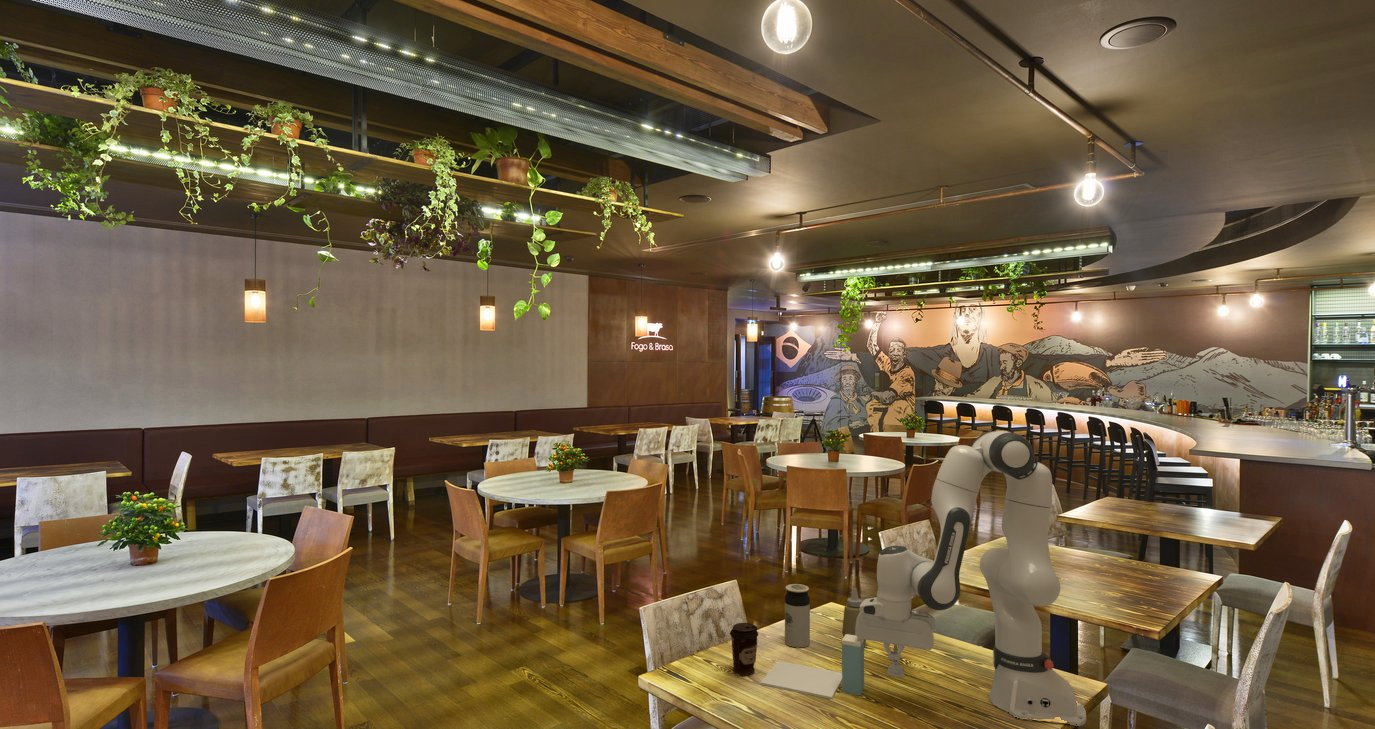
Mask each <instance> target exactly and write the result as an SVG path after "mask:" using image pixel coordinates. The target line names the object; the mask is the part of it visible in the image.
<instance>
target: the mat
mask: <svg viewBox="0 0 1375 729" xmlns="http://www.w3.org/2000/svg"><path fill="white" fill-rule="evenodd" d="M760 685H761V686H765V687H771V688H776V689H780V690H784V691H785V690H786V691H790V692H795V693H800V694H805V695H809V696H813V697H819V698H824V699H828V700H833V698H834V696H835V695H836V693H837V691H838V688H839V687H840V685H842V672H839V671H833V670H829V669H823V668H818V667H813V666H807V665H803V664H798V663H797V664H796V663H792V662H786V661H782V660H778V661H777V662H776V663H775V664H774V666H772V668H770V670H769V671H768V672H767V674H766V675H765V676H764V678H763V679H762V680H761V681H760Z"/></svg>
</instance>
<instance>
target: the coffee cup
mask: <svg viewBox="0 0 1375 729" xmlns="http://www.w3.org/2000/svg"><path fill="white" fill-rule="evenodd" d="M758 629H759V628H758V627H757V625H756V624H752V623H751V622H750V623H749V622H738V623H736V624H734V625H733V626H732V628H731V629H730V632H729V635H730V640H731V649H732V651H731V652H732V653H731V654H732V661H733V662H732V663H733V668H732V670H733V672H734V674H736V675H738V676H750V675H752V674H754V673H755V670H756V669H755V663H756V660H757V650H758V637H759V632H758Z"/></svg>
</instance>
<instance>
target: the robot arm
mask: <svg viewBox="0 0 1375 729" xmlns="http://www.w3.org/2000/svg"><path fill="white" fill-rule="evenodd" d="M991 472H996V473H1003V475H1004V477H1005V481H1006V491H1005V498H1004V505H1003V511H1002V518H1001V531H1002V533H1003V535H1004V536H1005V541H1006V544H1007V548H1003V547H992V548H989V549H987V550H986V551H985V552H984V553H983V554H982V555H981V558H980V560H979V569H980V572H981V574H982V575H983V578H984V580H985V582H986V585H987V587H988V592H989V596H990V600H991V604H992V608H993V614H994V630H995V631H994V632H995V635H994V639H995V641H994V642H995V644H994V645H993V649H992V650H993V651H992V661H993V662H992V663H993V668H994V671H993V679H992V685H991V689H990V692H989V695H988V699H989V701H990V702H991V703H992V704H993V705H994V706H996V707H997V708H999V709H1001V710H1002V711H1005V712H1007V713H1008V712H1009V713H1008V714H1009V715H1011V716H1012V715H1013V716H1012V717H1014V718H1015V717H1017V718H1016V719H1018V718H1029V719H1030V718H1031V719H1034V718H1035V719H1036V718H1037V719H1054V718H1055V717H1060V718H1061V720H1064V721H1067V722H1069V723H1070V725H1069V726H1074V727H1075V726H1076V727H1077V726H1079V727H1081V726H1083V725H1085V724H1086V723H1087V712H1086V708H1085V707H1084V706H1083V704H1082V703H1081V705H1079V706H1077V703H1076V700H1077V697H1076V695H1075V694H1076V693H1075V692H1074V689H1073V687H1072V685H1071V684H1070V682H1069V681H1068V680H1066V679H1065V678H1063V677H1062V676H1061V675H1060V674H1059V673H1058V672H1056V670H1054V667H1055V666H1054V661H1052V660H1051V656H1050V655H1049V654H1050V653H1048V652H1047V651H1046V652H1044V651H1043V650H1042V648H1043V647H1042V646H1043V645H1042V644H1043V643H1042V642H1043V640H1042V639H1043V636H1042V632H1043V630H1042V628H1043V627H1042V626H1043V625H1042V621H1041V619H1040V617H1039V615H1038V614H1037V611H1036V609H1035V606H1036V607H1048V606H1050V605H1053V604H1054V603H1055V602H1056V601H1057V599H1058V598H1059V595H1060V593H1061V582H1060V580H1059V577H1058V575H1057V574H1056V573H1055V570H1054V568H1053V564H1052V558H1051V554H1050V549H1049V530H1050V528H1049V527H1050V520H1051V519H1050V518H1051V512H1052V511H1051V510H1052V502H1053V477H1052V472H1051V470H1050V469H1049V467H1047V466H1046V465H1045V464H1043V463H1041V462H1040V461H1039V462H1038V460H1037V457H1036V455H1035V452H1034V449H1033V446H1032V444H1031V443H1030V441H1029V440H1028V439H1027V438H1026V437H1024V436H1023V435H1021V434H1019V433H1016V432H1011V431H1007V430H990V431H986V432H984V433H981V434H980V435H978V437H976V438H975V439H974V441H972V442H971V443H970V444H969V445H965V444H962V445H961V444H960V445H959V444H958V445H954V446H952V447H951V448H950V449H949V450H948V452H947V453H946V455H945V457H944V458H943V461H942V463H941V465H940V467H939V470H938V472H937V475H936V479H935V480H934V484H933V487H932V493H931V500H930V501H931V502H930V503H931V506H932V509H933V510H934V512H935V514H936V516H937V518H938V521H939V526H940V536H939V540H938V545H937V548H936V551H935V556H934V560H933V559H930V558H928V557H924V556H921V555H918V554H916V553H914V552H913V551H912V550H910V549H908V547H906V546H903V545H890V546H886V547H884V548H883V549H881V551H880V552H879V554H878V556H877V565H876V580H877V581H876V582H877V587H878V588H877V591H876V596H875V597H870V598H865V599H864V600H862V603H861V605H860V613H859V615H858V616H857V620H856V626H855V635H856V636H857V638H859V639H865V640H866V641H872V642H878V643H883V648H884V649H885V651H886V653H887V660H888V661H893V662H894V661H897V662H900V661H901V654H902V652H903V651H904V649H905V647H908V648H914V649H920V650H927V651H931V650H932V649H933V648H934V646H935V636H934V630H935V627H936V619H935V617H934V616H933V615H931V614H930V613H929V612H927V611H924V612H923V611H919V610H913V609H912V596H914V595H918V596H919V598H920V599H921V601H922V602H923V603H924V605H925V606H927V607H928V608H930V609H932V610H935V611H945V610H947V609H950V608H953V607H954V605H955V604H956V603H957V602H958V601H959V598H960V597H961V596H960V595H961V582H960V571H961V566H962V563H963V559H964V555H965V550H966V546H967V541H968V537H969V532H970V525H971V520H972V515H973V510H974V508H975V504H976V501H977V498H978V495H979V492H980V489H981V484H982V482H983V480H984V478H985V477H986V475H988V474H989V473H991ZM894 644H895V645H897V647H898V652H894V651H892V650H891V647H890V646H891V645H894ZM1076 724H1077V725H1076Z"/></svg>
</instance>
